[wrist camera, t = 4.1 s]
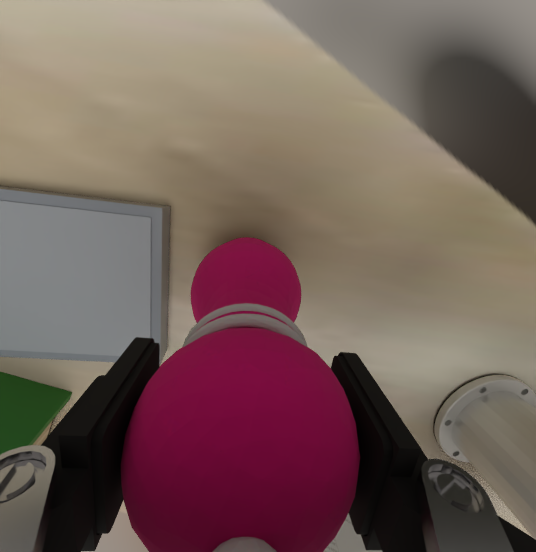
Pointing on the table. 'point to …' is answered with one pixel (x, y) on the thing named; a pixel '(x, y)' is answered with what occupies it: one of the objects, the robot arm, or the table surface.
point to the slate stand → (81, 275)
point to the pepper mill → (241, 422)
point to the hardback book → (27, 411)
